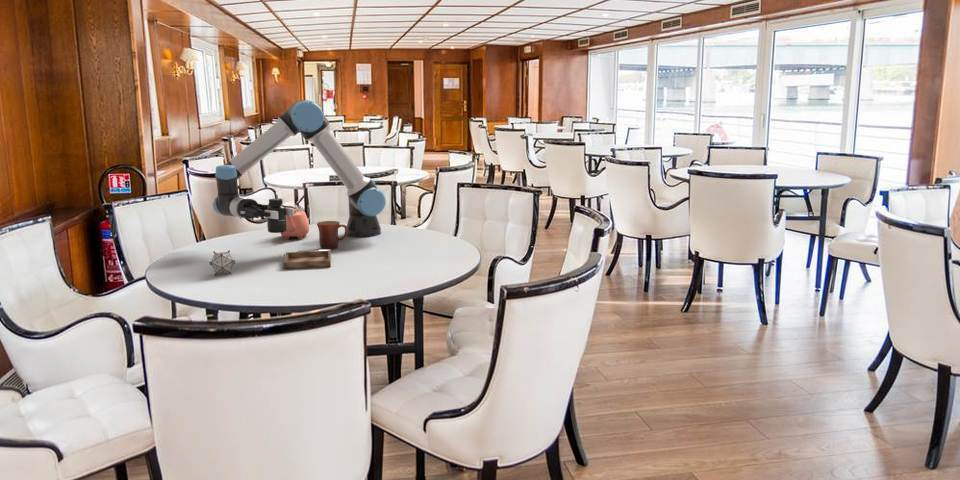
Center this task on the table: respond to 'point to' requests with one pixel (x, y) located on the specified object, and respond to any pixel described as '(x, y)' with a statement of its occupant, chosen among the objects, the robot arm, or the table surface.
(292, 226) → the teapot
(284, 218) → the supplement bottle
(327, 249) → the pin
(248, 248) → the table surface
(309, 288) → the table surface
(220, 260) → the game die
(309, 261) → the tray
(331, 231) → the mug
